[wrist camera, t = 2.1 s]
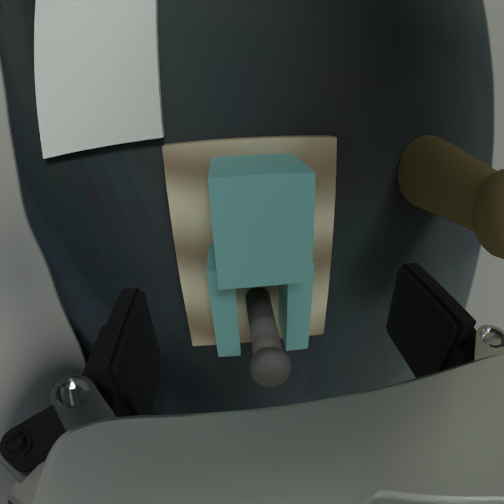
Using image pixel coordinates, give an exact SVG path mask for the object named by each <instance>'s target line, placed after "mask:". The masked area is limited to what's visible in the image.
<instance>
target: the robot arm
mask: <svg viewBox="0 0 504 504" xmlns="http://www.w3.org/2000/svg"><path fill="white" fill-rule="evenodd" d="M475 323H476V321H475V320H474V318H473V317H472V316H471V315H470V314H469V313H468V312H467V311H466V310H465V309H464V308H463V307H462V306H461V305H460V304H459V303H458V302H457V301H456V300H455V299H454V298H453V297H452V296H451V295H450V294H449V293H448V292H447V291H446V290H445V289H444V288H443V287H442V286H441V285H440V284H439V283H438V282H437V281H436V280H435V279H434V278H433V277H432V276H431V275H430V274H429V273H427V272H426V271H425V270H424V269H423V268H422V267H421V266H420V265H419V264H418V263H411V264H404V265H402V267H401V268H400V269H399V270H398V273H397V278H396V283H395V288H394V293H393V298H392V303H391V307H390V312H389V316H388V321H387V326H386V328H387V332H388V334H389V336H390V337H391V339H392V341H393V342H394V344H395V345H396V347H397V348H398V350H399V351H400V353H401V355H402V356H403V358H404V359H405V361H406V362H407V364H408V366H409V367H410V369H411V370H412V372H413V374H414V375H415V377H416V378H415V379H412V380H408V381H404V382H400V383H397V384H393V385H389V386H384V387H380V388H376V389H372V390H367V391H363V392H358V393H353V394H348V395H343V396H338V397H333V398H328V399H322V400H316V401H310V402H304V403H297V404H290V405H283V406H275V407H267V408H258V409H249V410H238V411H226V412H211V413H193V414H168V415H151V414H152V407H153V400H154V393H155V387H156V380H157V374H158V368H159V362H160V350H159V346H158V343H157V339H156V335H155V332H154V328H153V324H152V321H151V317H150V313H149V309H148V305H147V301H146V297H145V294H144V292H140V291H139V289H138V288H131V289H122V290H121V292H120V295H119V297H118V299H117V301H116V304H115V306H114V308H113V311H112V313H111V315H110V318H109V320H108V322H107V325H106V326H103V327H102V328H101V330H100V332H99V334H98V337H97V339H96V342H95V344H94V346H93V349H92V351H91V354H90V356H89V359H88V361H87V364H86V366H85V369H84V372H83V374H82V376H79V375H77V376H70V377H67V378H65V379H63V380H62V381H60V382H59V383H58V384H57V385H56V386H55V387H54V389H53V391H52V395H51V399H52V403H53V405H51V406H50V407H48V408H46V409H45V410H43V411H41V412H40V413H38V414H36V415H35V416H33V417H31V418H29V419H27V420H26V421H24V422H22V423H21V424H19V425H17V426H15V427H14V428H12V429H11V430H9V431H8V432H7V433H6V434H5V435H4V436H3V437H2V440H1V442H0V452H1V453H0V504H504V331H503V330H501V329H500V328H498V327H495V326H491V325H483V326H481V327H479V328H478V329H477V331H476V330H475V328H474V326H475Z"/></svg>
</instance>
